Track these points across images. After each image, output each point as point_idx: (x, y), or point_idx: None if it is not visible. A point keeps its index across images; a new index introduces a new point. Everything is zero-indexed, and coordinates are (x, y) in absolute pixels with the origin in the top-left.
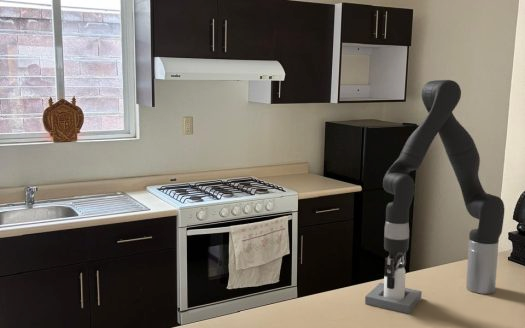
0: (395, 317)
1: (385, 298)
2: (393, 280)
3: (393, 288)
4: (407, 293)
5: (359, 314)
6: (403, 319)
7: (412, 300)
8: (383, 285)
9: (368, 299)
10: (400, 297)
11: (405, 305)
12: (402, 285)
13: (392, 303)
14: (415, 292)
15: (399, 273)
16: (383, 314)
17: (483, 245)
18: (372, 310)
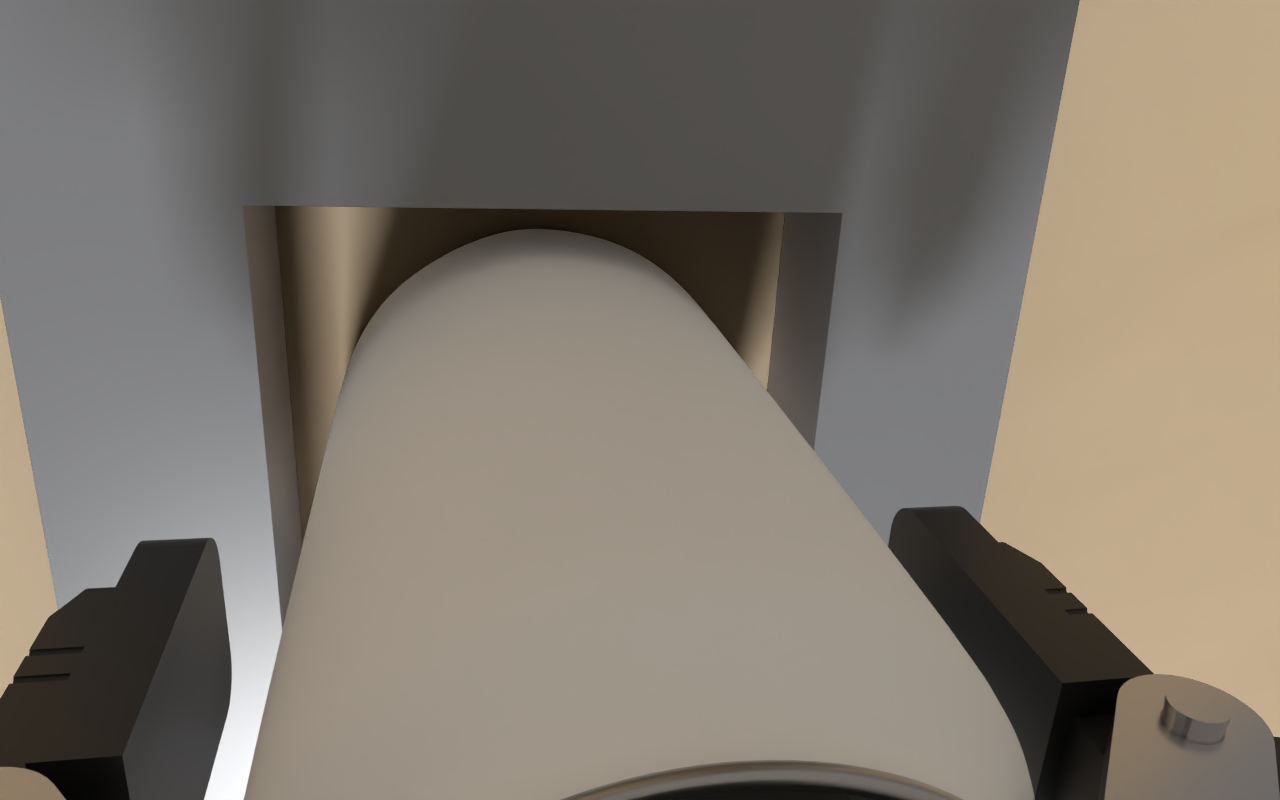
0: (1212, 167)
1: (880, 524)
2: (1082, 639)
3: (956, 507)
4: (254, 252)
5: (1251, 635)
6: (1253, 18)
7: (743, 4)
8: (224, 788)
9: None
10: (683, 300)
11: (1058, 81)
12: (715, 377)
13: (1000, 348)
14: (165, 70)
15: (968, 672)
16: (1155, 369)
17: None
18: (1065, 552)
